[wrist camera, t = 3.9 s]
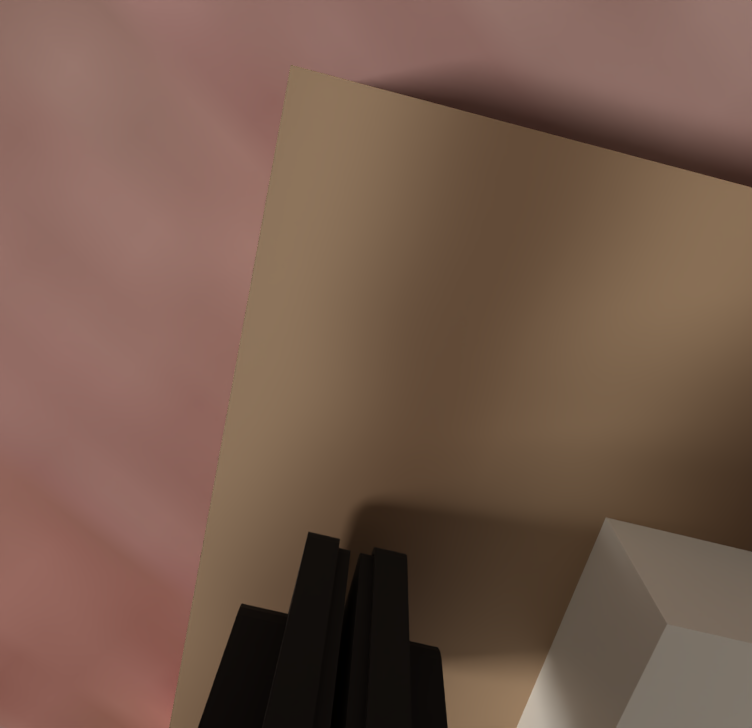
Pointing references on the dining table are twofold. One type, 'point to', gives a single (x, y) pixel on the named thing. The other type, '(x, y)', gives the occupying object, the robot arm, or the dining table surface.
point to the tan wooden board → (473, 377)
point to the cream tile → (651, 637)
